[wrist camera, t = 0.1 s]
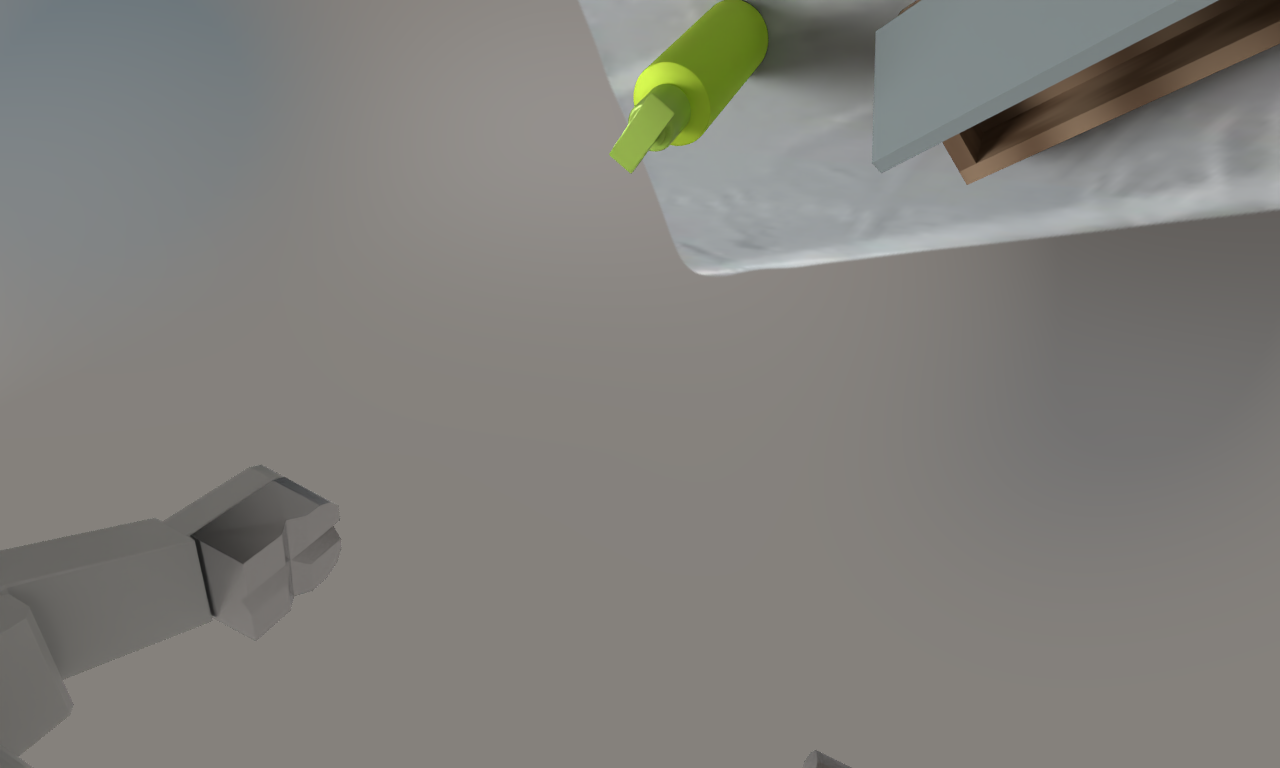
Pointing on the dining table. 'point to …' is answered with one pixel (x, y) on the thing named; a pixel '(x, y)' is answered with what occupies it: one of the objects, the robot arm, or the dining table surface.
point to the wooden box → (1118, 84)
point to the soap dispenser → (693, 81)
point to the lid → (991, 60)
